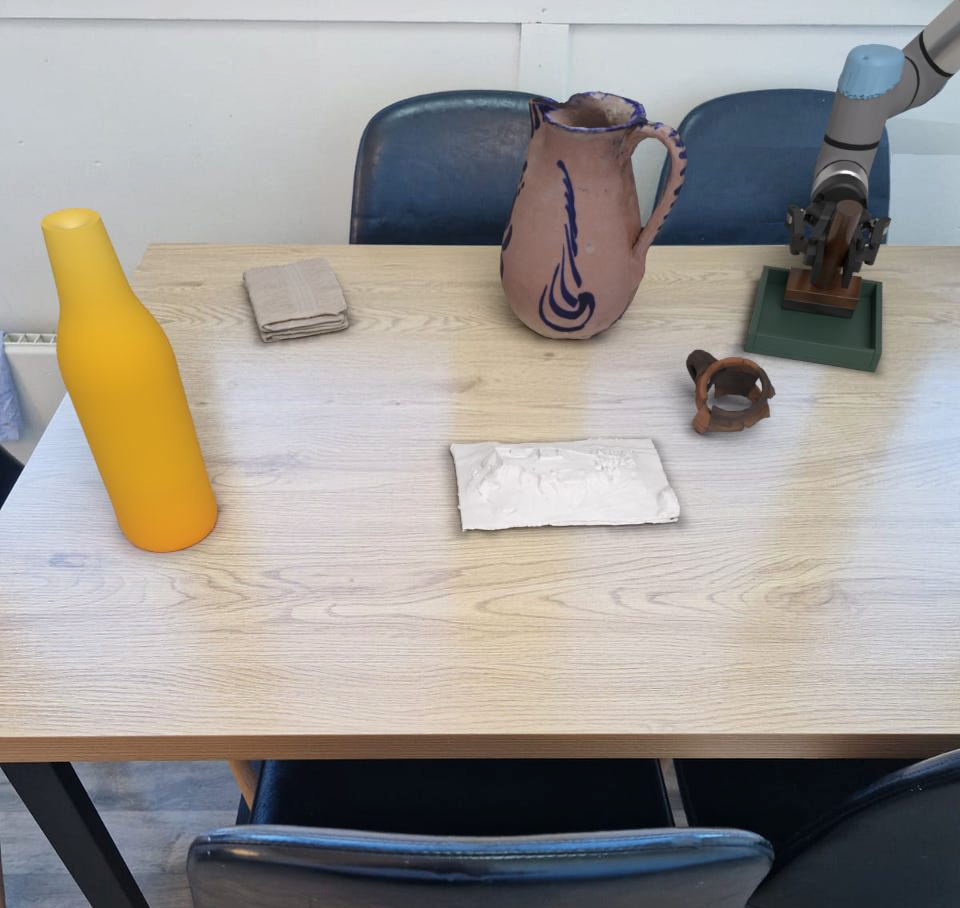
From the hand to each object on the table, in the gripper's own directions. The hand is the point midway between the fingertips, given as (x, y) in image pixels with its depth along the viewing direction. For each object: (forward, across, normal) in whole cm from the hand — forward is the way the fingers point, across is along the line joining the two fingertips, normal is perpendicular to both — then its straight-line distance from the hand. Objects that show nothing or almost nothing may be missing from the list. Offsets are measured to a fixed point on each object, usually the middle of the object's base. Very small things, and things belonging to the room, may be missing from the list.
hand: (832, 275), depth 104 cm
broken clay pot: (+21, +9, -8) cm, 25 cm away
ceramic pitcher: (+6, +29, -8) cm, 31 cm away
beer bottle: (+57, +58, -8) cm, 82 cm away
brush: (-8, 0, -7) cm, 10 cm away
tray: (-4, 0, -8) cm, 9 cm away
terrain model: (+39, +23, -8) cm, 46 cm away
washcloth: (+13, +66, -8) cm, 68 cm away
